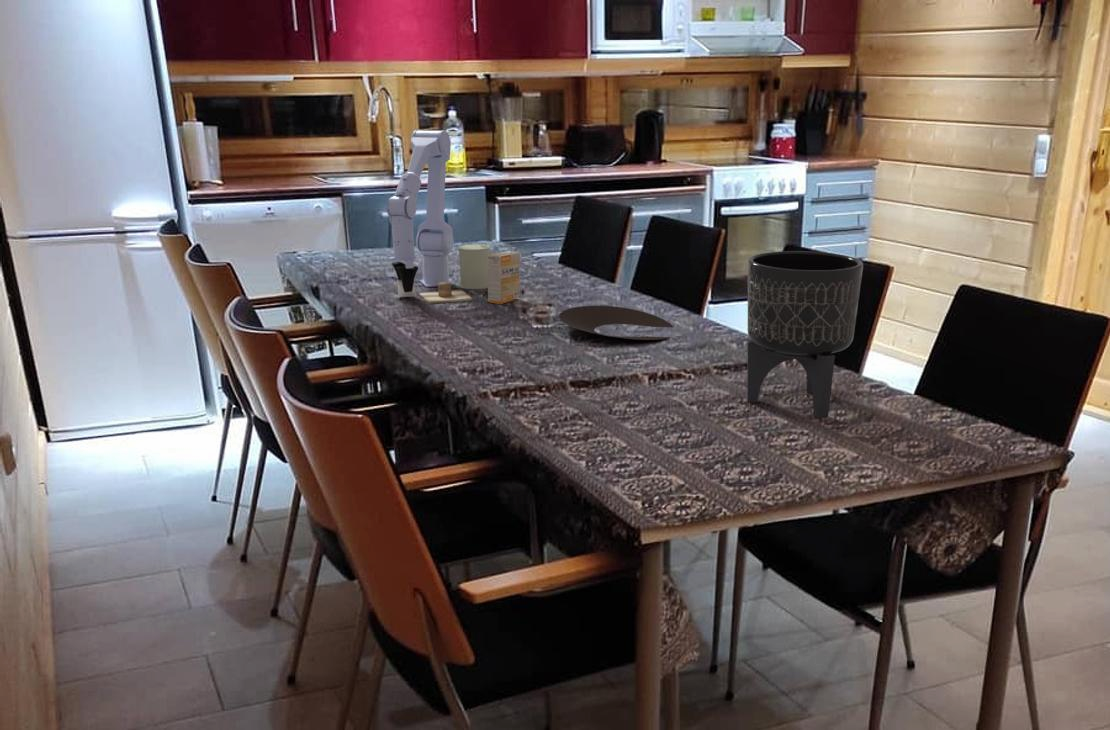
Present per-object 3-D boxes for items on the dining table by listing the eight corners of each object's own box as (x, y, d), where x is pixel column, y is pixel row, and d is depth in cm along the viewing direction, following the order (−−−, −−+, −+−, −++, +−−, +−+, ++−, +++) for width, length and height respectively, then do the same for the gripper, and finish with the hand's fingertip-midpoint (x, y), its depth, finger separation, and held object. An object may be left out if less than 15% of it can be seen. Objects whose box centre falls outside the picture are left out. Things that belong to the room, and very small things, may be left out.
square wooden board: (419, 295, 264) (418, 281, 263) (461, 291, 268) (460, 277, 266) (428, 304, 253) (427, 289, 252) (471, 300, 257) (471, 285, 256)
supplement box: (501, 305, 251) (500, 256, 248) (487, 302, 254) (486, 254, 250) (520, 299, 258) (519, 251, 254) (507, 297, 260) (506, 250, 257)
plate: (671, 349, 209) (671, 333, 208) (547, 343, 215) (547, 327, 213) (680, 319, 235) (681, 304, 234) (570, 314, 241) (570, 300, 240)
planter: (771, 380, 186) (779, 247, 178) (868, 400, 174) (881, 258, 166) (721, 406, 172) (727, 262, 164) (823, 429, 160) (835, 275, 152)
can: (490, 289, 270) (489, 247, 267) (458, 289, 271) (456, 247, 267) (492, 282, 279) (491, 242, 276) (461, 282, 280) (460, 242, 276)
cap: (395, 293, 262) (395, 279, 261) (413, 292, 264) (412, 278, 262) (399, 297, 257) (398, 283, 256) (417, 295, 259) (416, 281, 258)
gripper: (383, 237, 261) (387, 285, 265) (393, 245, 248) (396, 296, 252) (409, 235, 264) (411, 283, 268) (420, 244, 251) (422, 294, 255)
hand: (406, 289), depth 260 cm, fingers closed on cap, 5 cm apart
